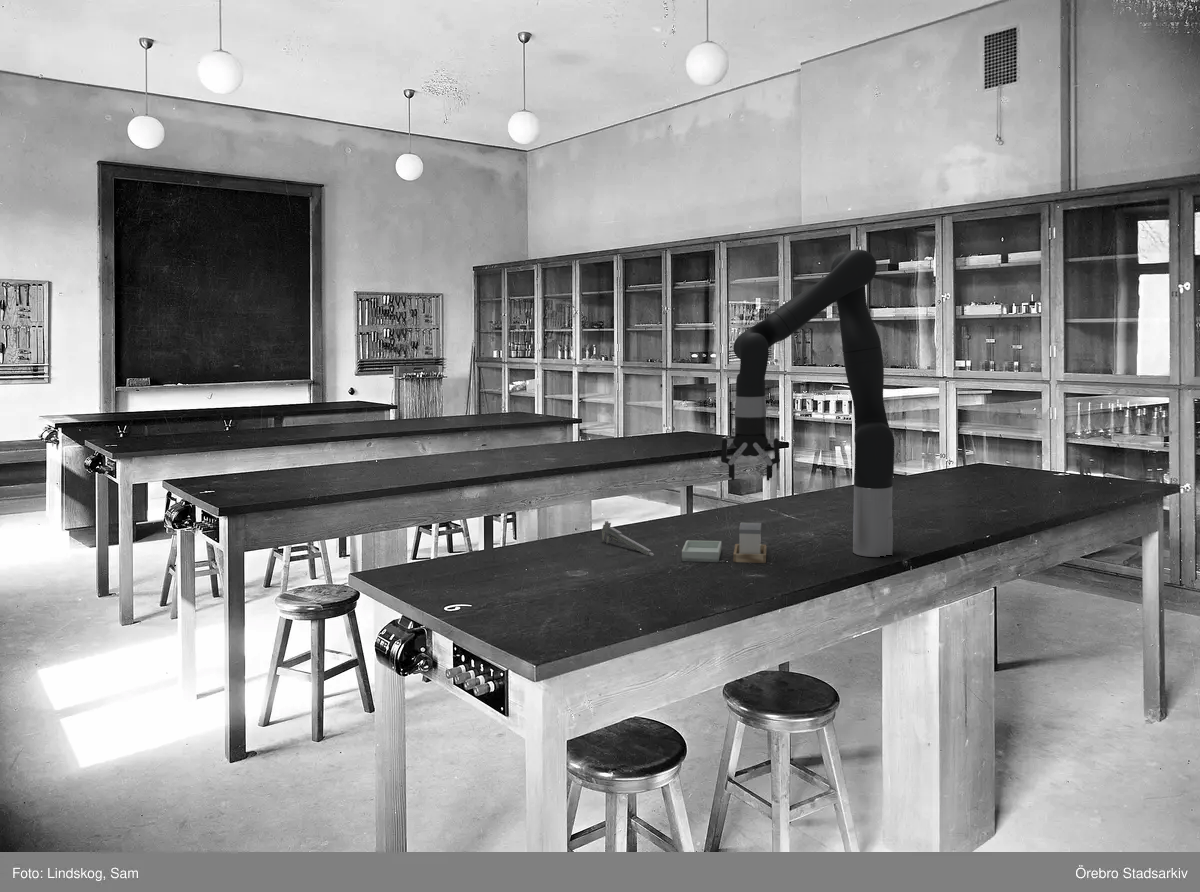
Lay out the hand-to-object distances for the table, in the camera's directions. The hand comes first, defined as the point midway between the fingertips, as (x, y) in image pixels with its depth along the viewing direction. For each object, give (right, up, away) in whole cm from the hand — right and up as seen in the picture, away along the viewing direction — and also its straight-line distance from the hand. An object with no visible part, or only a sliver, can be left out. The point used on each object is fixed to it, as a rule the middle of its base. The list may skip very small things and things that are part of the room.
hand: (750, 479), depth 226 cm
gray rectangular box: (0, -20, +2) cm, 20 cm away
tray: (-11, -19, +5) cm, 23 cm away
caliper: (-30, -19, +14) cm, 38 cm away
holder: (0, -19, +2) cm, 20 cm away
